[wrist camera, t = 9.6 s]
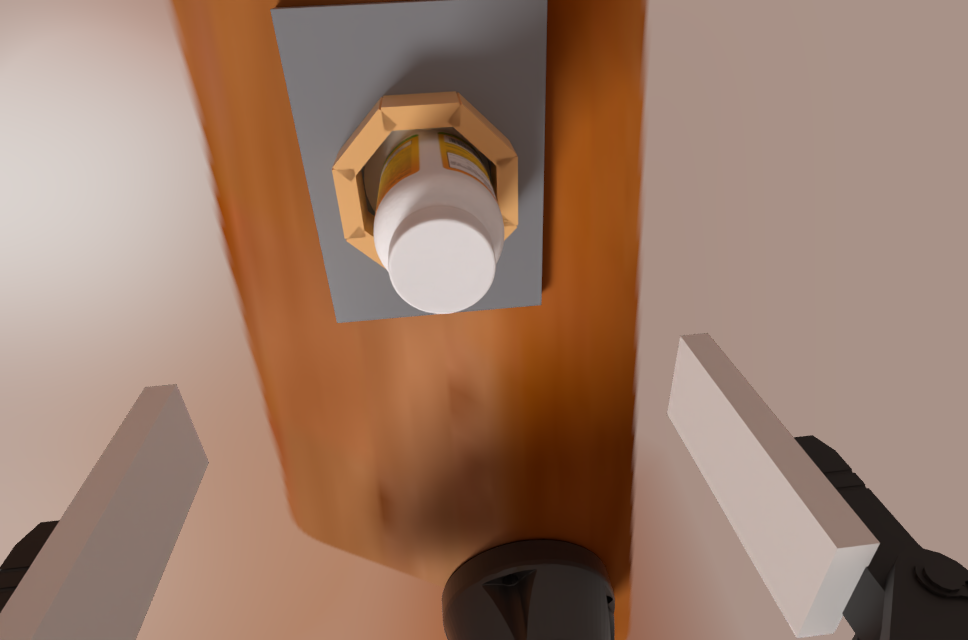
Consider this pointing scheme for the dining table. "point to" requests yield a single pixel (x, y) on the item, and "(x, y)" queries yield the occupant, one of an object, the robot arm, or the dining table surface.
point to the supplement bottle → (437, 222)
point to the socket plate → (417, 126)
